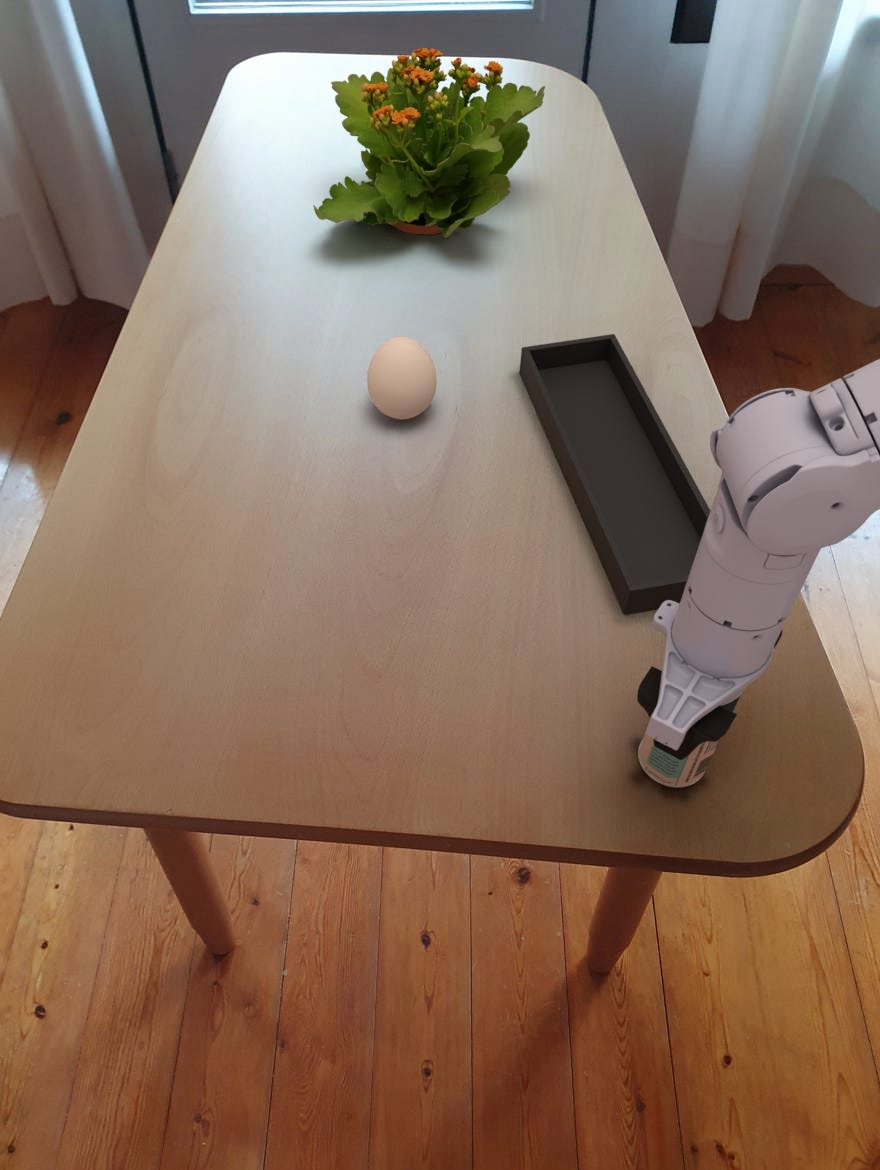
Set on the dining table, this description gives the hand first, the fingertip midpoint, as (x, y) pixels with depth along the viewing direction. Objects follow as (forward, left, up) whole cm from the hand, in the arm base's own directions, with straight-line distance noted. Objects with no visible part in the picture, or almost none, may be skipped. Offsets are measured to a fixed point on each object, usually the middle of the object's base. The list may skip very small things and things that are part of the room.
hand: (687, 720), depth 65 cm
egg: (+24, -35, -6) cm, 43 cm away
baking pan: (+4, -29, -5) cm, 30 cm away
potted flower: (+25, -70, -6) cm, 74 cm away
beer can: (0, 0, -6) cm, 6 cm away
